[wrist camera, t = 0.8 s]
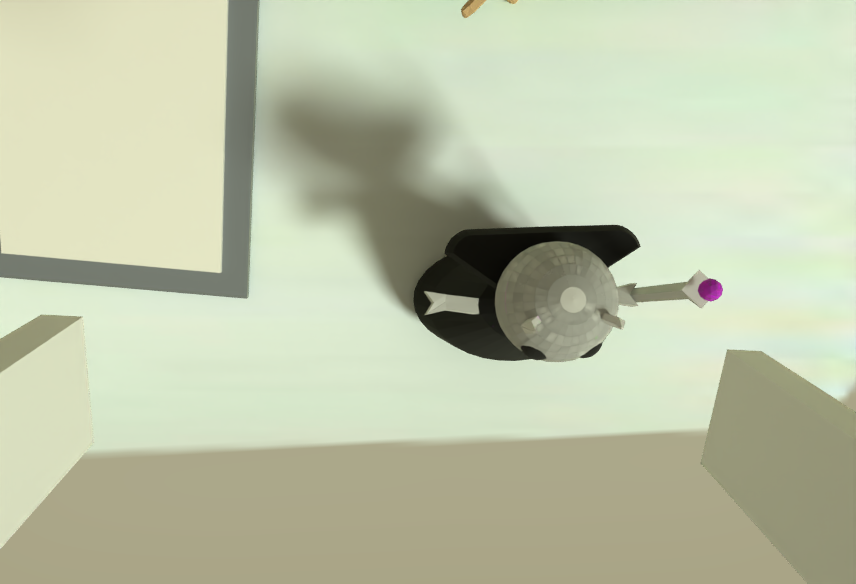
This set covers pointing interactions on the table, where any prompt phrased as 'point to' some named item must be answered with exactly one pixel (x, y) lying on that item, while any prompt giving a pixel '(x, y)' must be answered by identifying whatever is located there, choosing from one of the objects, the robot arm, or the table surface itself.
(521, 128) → the table surface
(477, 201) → the table surface
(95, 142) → the grey framed cream board
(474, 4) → the toy
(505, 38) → the table surface
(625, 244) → the toy
